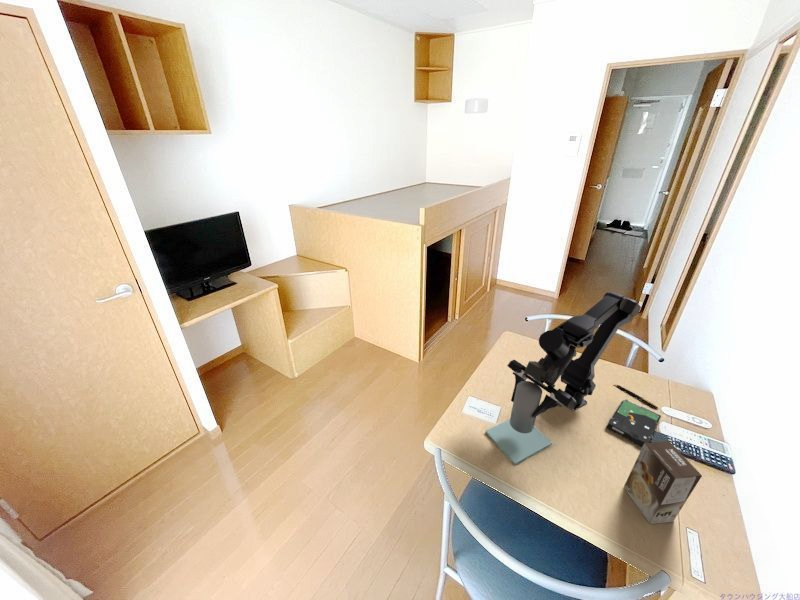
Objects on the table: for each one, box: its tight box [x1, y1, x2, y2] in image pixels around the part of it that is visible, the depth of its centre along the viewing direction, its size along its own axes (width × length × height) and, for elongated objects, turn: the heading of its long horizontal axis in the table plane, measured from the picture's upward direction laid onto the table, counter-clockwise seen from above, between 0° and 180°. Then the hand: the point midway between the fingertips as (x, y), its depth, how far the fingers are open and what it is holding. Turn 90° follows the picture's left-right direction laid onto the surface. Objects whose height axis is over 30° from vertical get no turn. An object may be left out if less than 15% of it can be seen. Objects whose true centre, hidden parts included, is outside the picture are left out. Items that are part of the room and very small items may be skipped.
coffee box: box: [623, 440, 703, 525], centre depth 75 cm, size 9×6×16 cm
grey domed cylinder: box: [509, 380, 543, 433], centre depth 89 cm, size 6×6×13 cm
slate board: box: [485, 418, 553, 466], centre depth 95 cm, size 14×12×1 cm
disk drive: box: [606, 398, 662, 448], centre depth 99 cm, size 10×3×15 cm
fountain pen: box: [613, 383, 659, 410], centre depth 110 cm, size 14×1×2 cm, turn 33°
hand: (522, 409), depth 89 cm, fingers closed on grey domed cylinder, 6 cm apart
